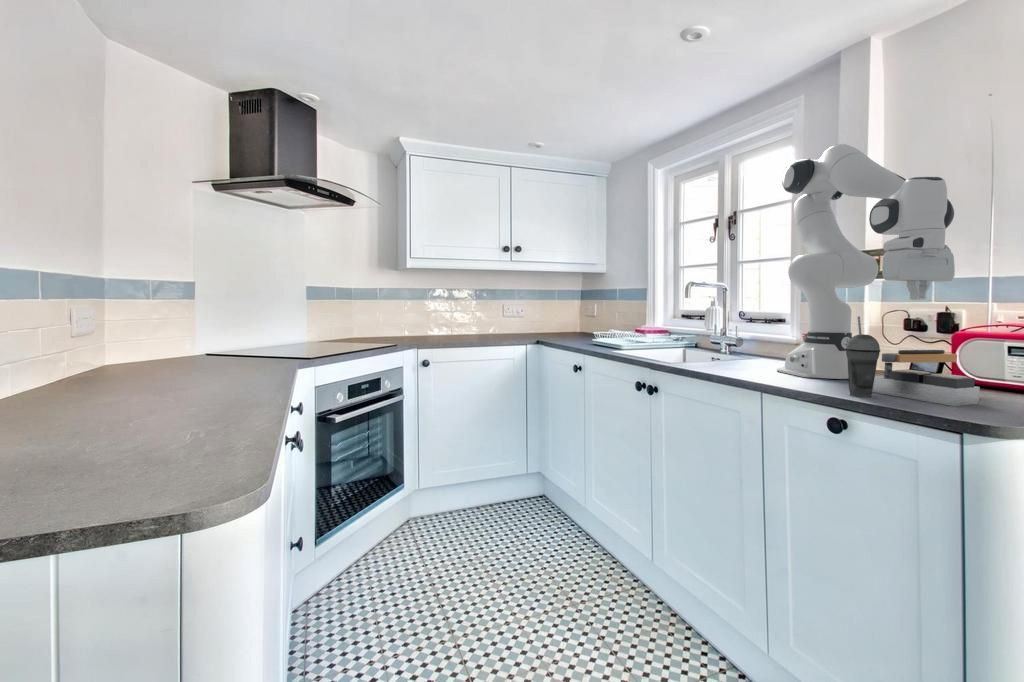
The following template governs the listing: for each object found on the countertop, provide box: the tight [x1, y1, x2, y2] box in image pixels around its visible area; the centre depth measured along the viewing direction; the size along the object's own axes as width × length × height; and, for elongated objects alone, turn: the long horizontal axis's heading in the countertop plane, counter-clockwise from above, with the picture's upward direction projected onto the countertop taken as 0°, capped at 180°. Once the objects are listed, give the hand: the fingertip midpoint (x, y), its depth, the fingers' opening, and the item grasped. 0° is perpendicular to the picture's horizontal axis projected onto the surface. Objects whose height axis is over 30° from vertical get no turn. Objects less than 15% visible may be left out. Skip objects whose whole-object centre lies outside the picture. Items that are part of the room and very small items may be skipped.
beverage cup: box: [845, 316, 882, 398], centre depth 125 cm, size 7×7×20 cm
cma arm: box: [881, 349, 958, 364], centre depth 131 cm, size 18×4×3 cm, turn 95°
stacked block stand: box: [872, 362, 981, 407], centre depth 123 cm, size 20×8×8 cm, turn 17°
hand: (917, 299), depth 123 cm, fingers closed
